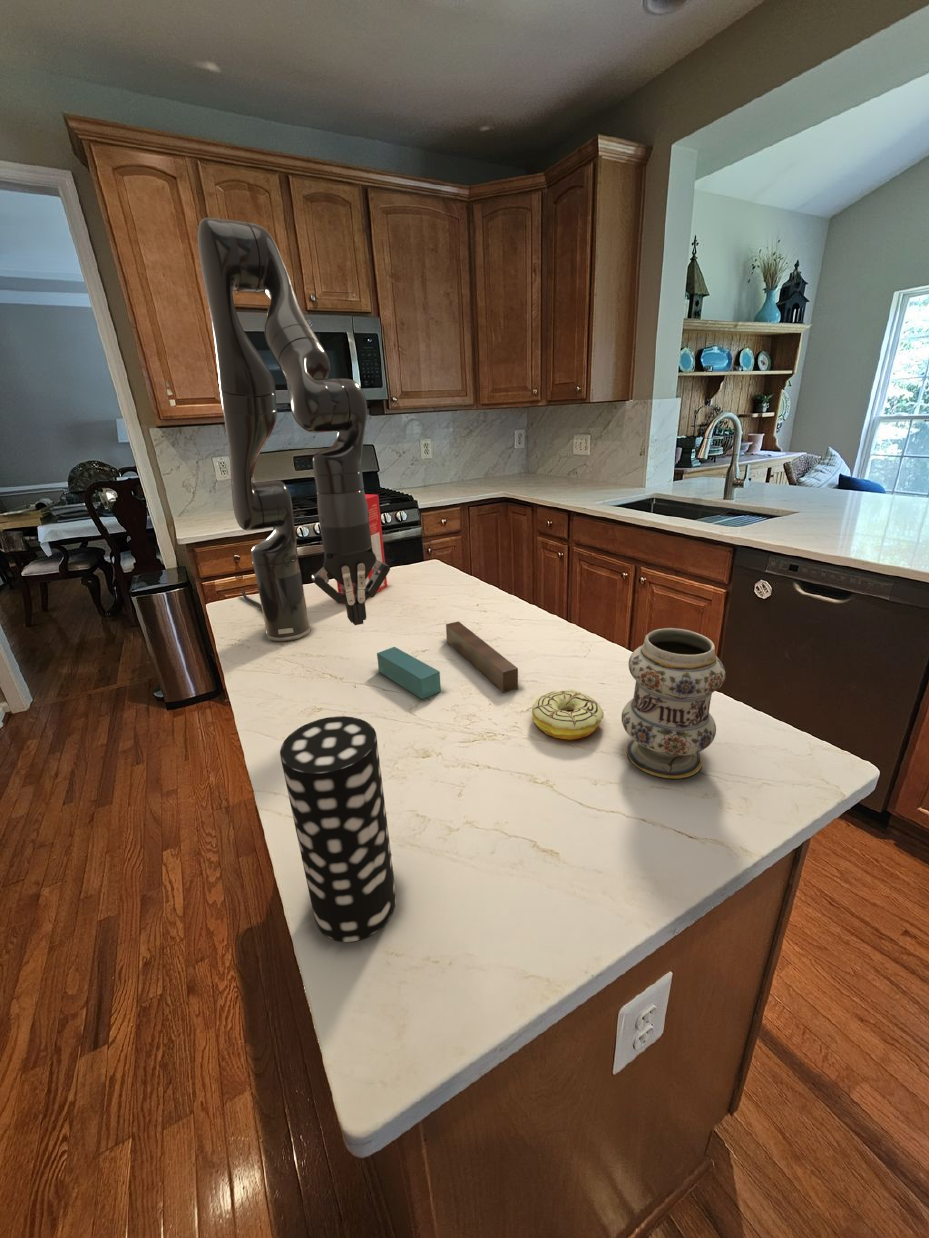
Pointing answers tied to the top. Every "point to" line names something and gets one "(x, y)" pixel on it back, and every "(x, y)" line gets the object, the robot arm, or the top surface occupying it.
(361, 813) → the spotted tube
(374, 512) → the food packaging
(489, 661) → the walnut rail
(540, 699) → the decorated donut
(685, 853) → the top surface
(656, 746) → the apothecary jar
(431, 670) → the teal bar
